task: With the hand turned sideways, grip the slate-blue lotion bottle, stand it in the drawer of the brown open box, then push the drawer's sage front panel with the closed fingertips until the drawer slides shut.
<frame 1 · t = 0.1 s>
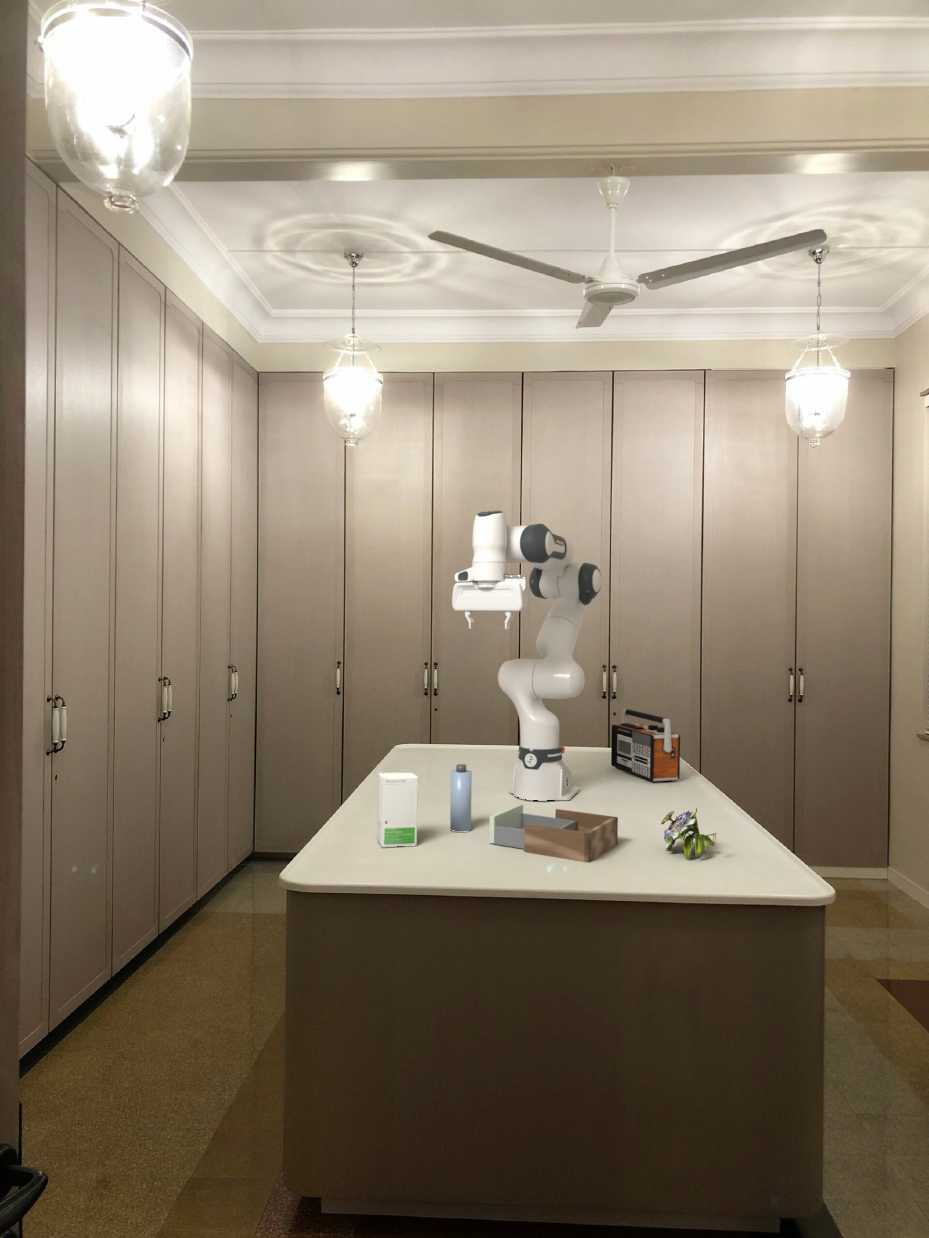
hand: (489, 629, 217), 48 cm above the countertop, tool pointing down, fingers open, 8 cm apart
brown open box: (568, 846, 192), on the countertop
lotion bottle: (460, 829, 206), on the countertop
radio cassette player: (644, 775, 278), on the countertop
skincare box: (397, 844, 194), on the countertop
drawer: (533, 827, 196), point 3 cm above the countertop, slide at 8.0 cm
passion flower: (687, 853, 189), on the countertop
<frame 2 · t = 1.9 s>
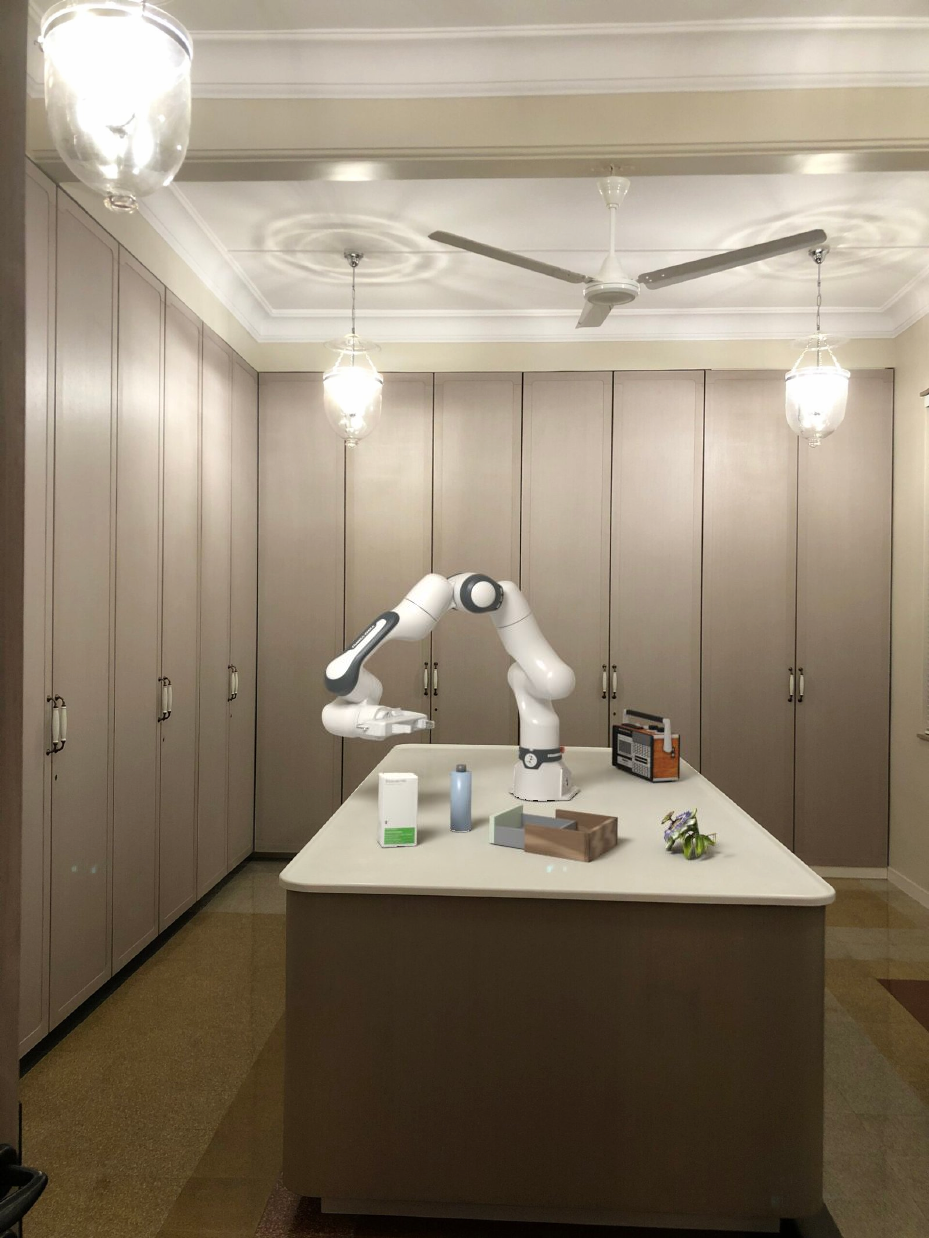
hand: (422, 727, 211), 24 cm above the countertop, tool horizontal, fingers open, 8 cm apart
nothing on the countertop moved.
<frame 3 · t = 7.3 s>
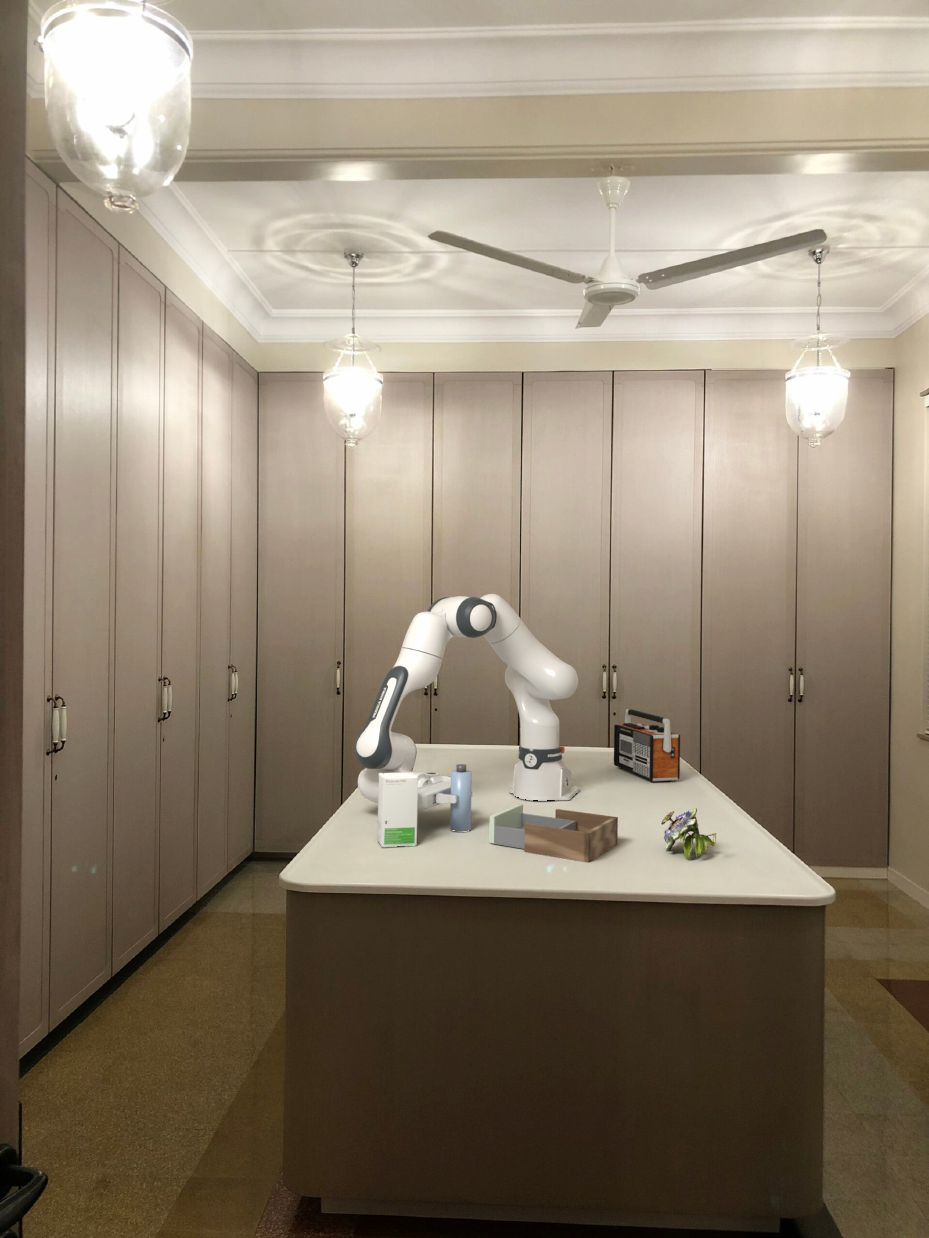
hand: (464, 796, 206), 8 cm above the countertop, tool horizontal, fingers closed on lotion bottle, 5 cm apart
lotion bottle: (460, 829, 206), on the countertop, touching gripper
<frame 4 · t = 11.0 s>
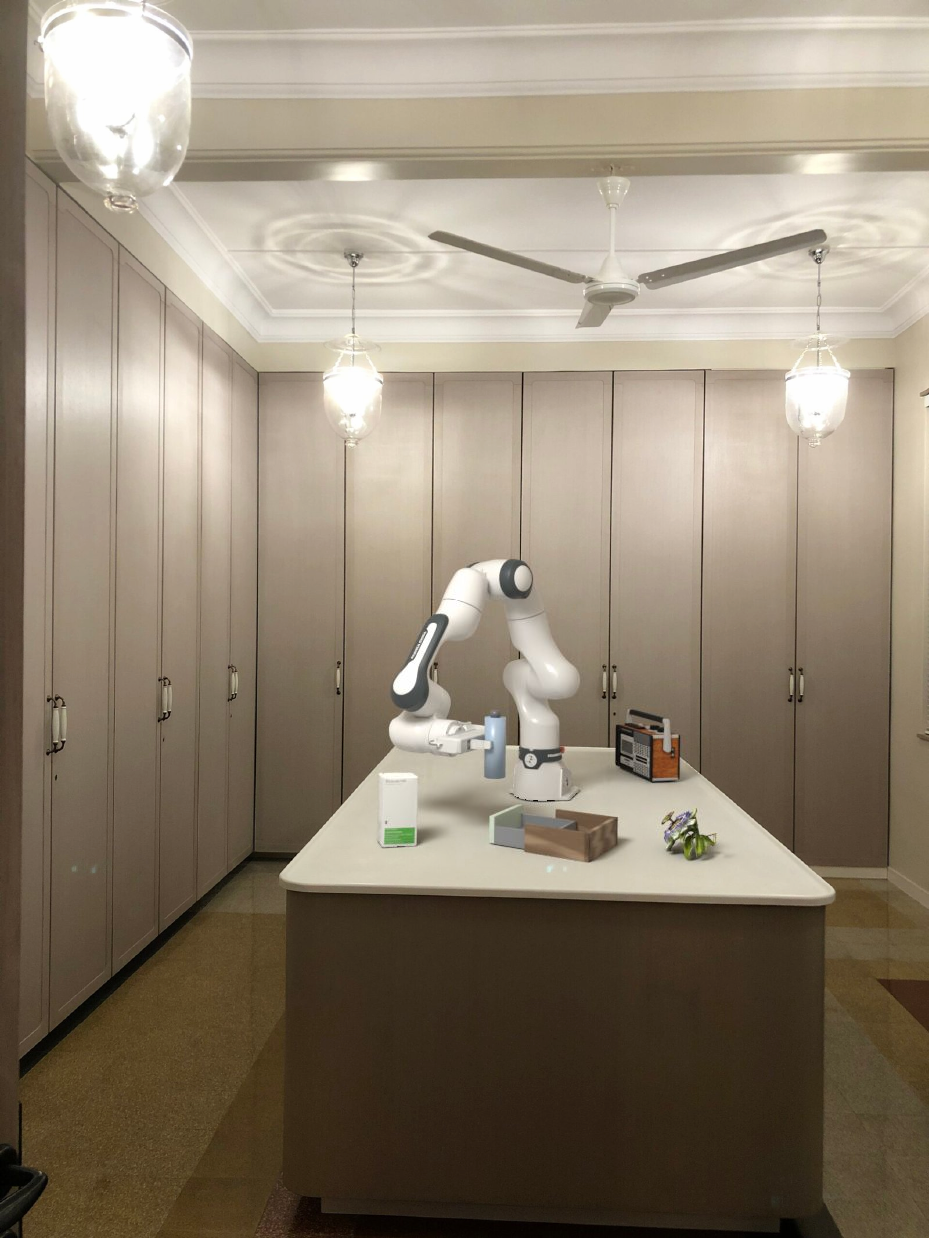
hand: (498, 743, 201), 22 cm above the countertop, tool horizontal, fingers closed on lotion bottle, 5 cm apart
lotion bottle: (494, 776, 201), point 14 cm above the countertop, touching gripper
everything else where it was.
when the fingers open (11 cm above the countertop, at t = 15.0 s): lotion bottle drops 1 cm, resting on drawer.
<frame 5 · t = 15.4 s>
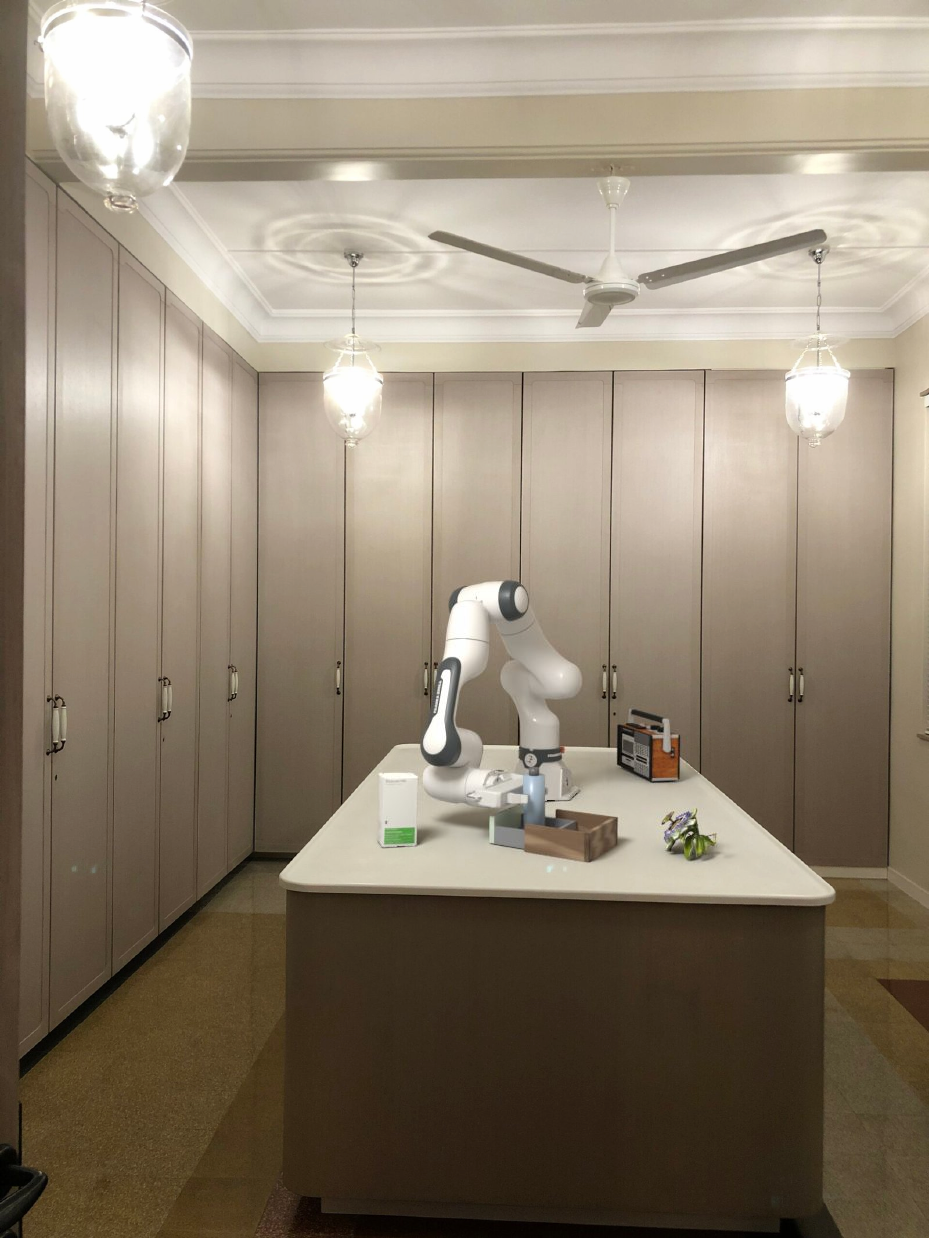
hand: (538, 795, 196), 11 cm above the countertop, tool horizontal, fingers open, 8 cm apart
lotion bottle: (534, 836, 196), point 1 cm above the countertop, touching drawer
drawer: (533, 827, 196), point 3 cm above the countertop, slide at 8.0 cm, touching lotion bottle
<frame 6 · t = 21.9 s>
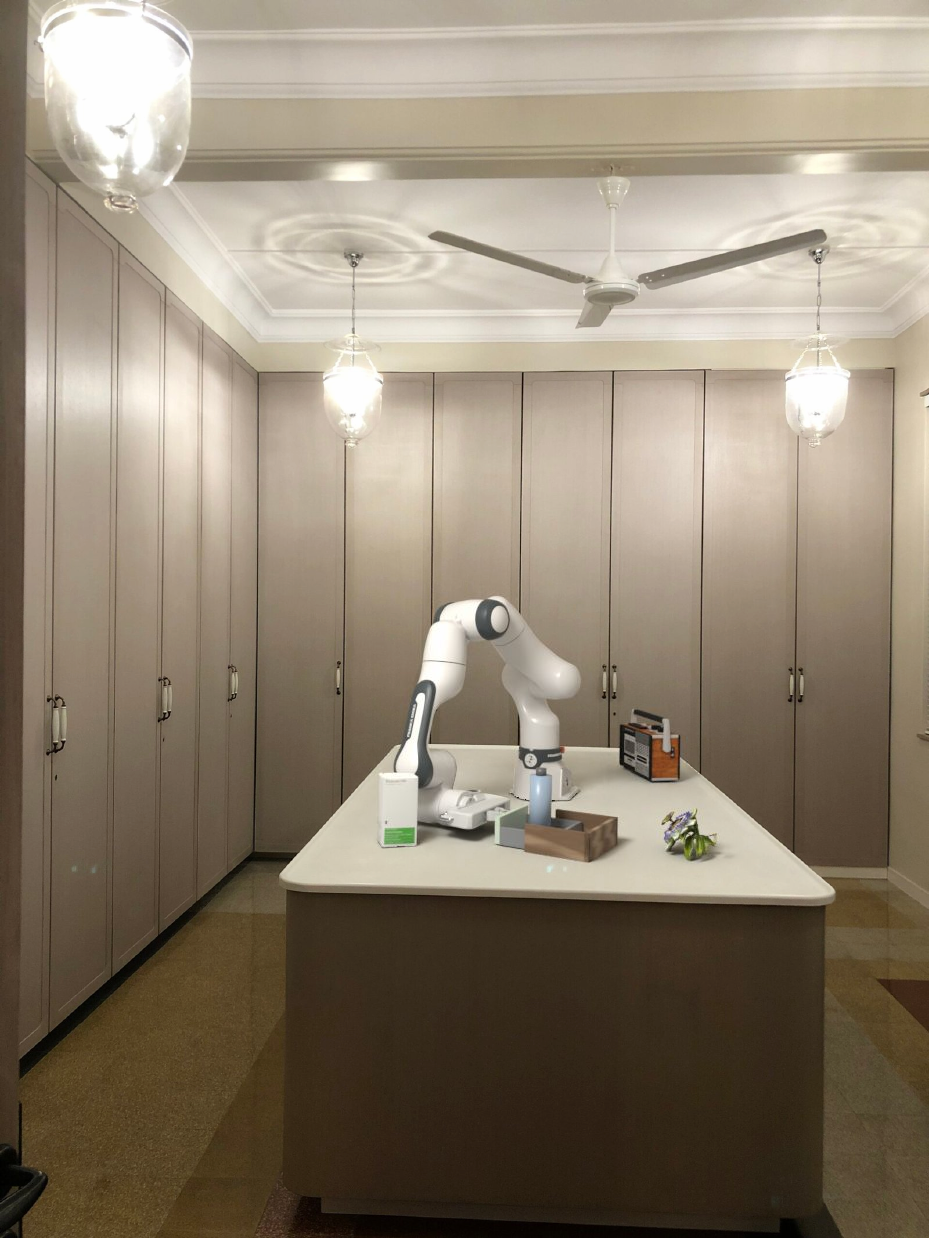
hand: (509, 816, 199), 5 cm above the countertop, tool horizontal, fingers closed, pressing on drawer
lotion bottle: (539, 836, 196), point 1 cm above the countertop, touching drawer
drawer: (539, 828, 196), point 3 cm above the countertop, slide at 6.6 cm, touching gripper, lotion bottle
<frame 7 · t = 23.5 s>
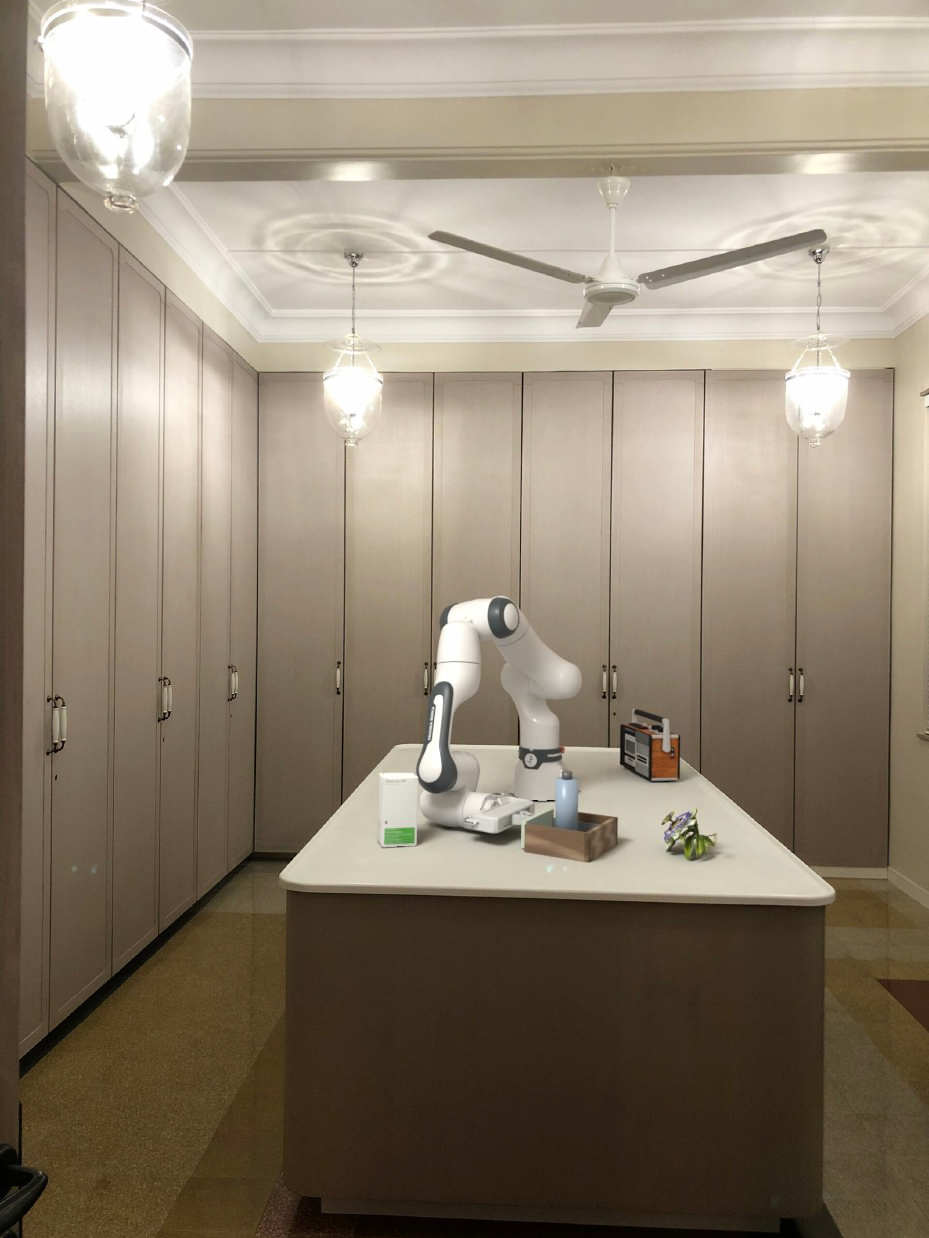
hand: (535, 819, 196), 5 cm above the countertop, tool horizontal, fingers closed, pressing on drawer
lotion bottle: (566, 841, 192), point 1 cm above the countertop, touching drawer
drawer: (565, 832, 192), point 3 cm above the countertop, slide at 0.0 cm, touching gripper, lotion bottle
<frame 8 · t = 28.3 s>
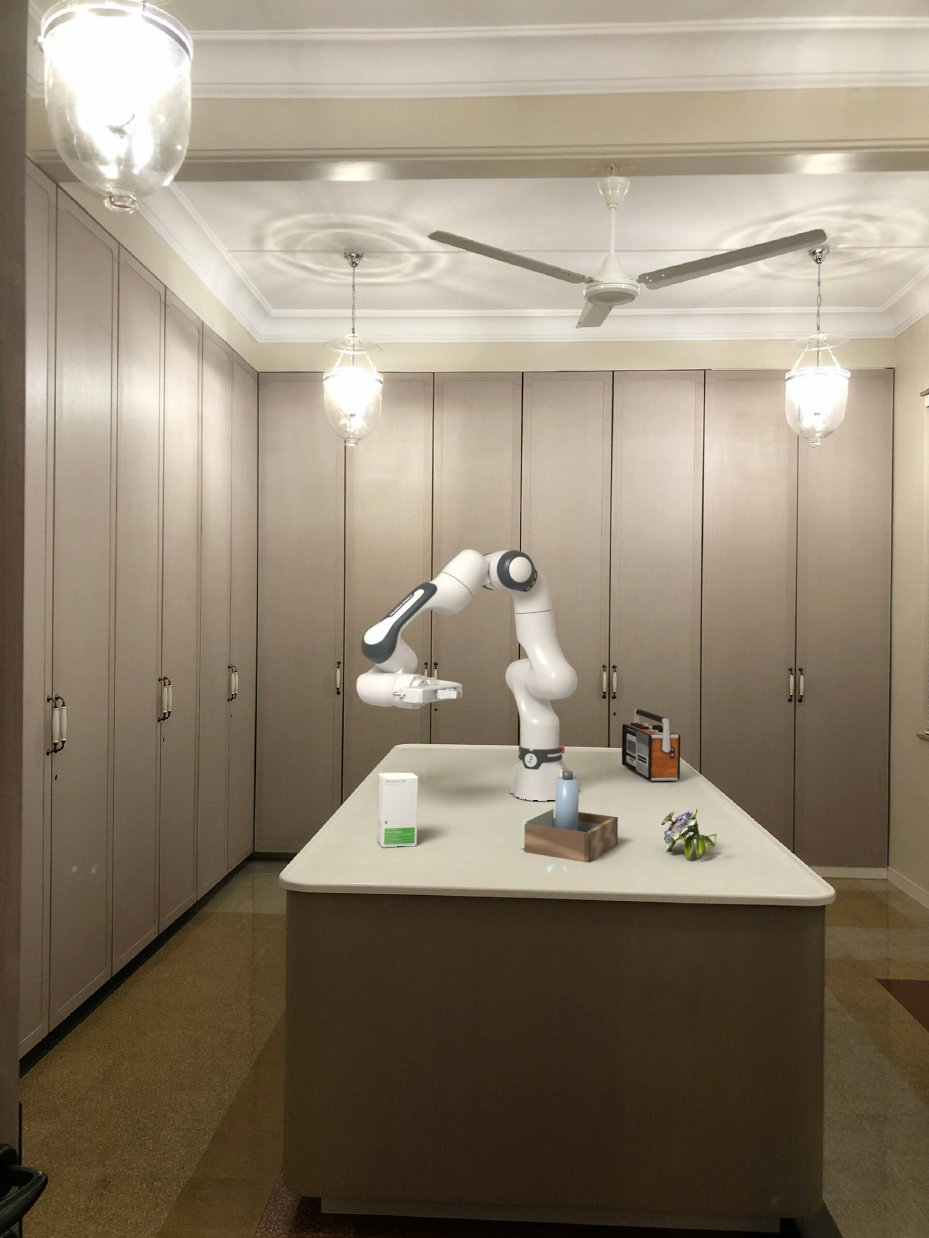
hand: (459, 694, 211), 32 cm above the countertop, tool horizontal, fingers closed
drawer: (565, 832, 192), point 3 cm above the countertop, slide at 0.0 cm, touching lotion bottle
at the end: drawer slide at 0.0 cm; lotion bottle inside the target area on the brown open box (0.0 cm from its centre), point 1.2 cm above the brown open box's base; lotion bottle tilted 1° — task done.
